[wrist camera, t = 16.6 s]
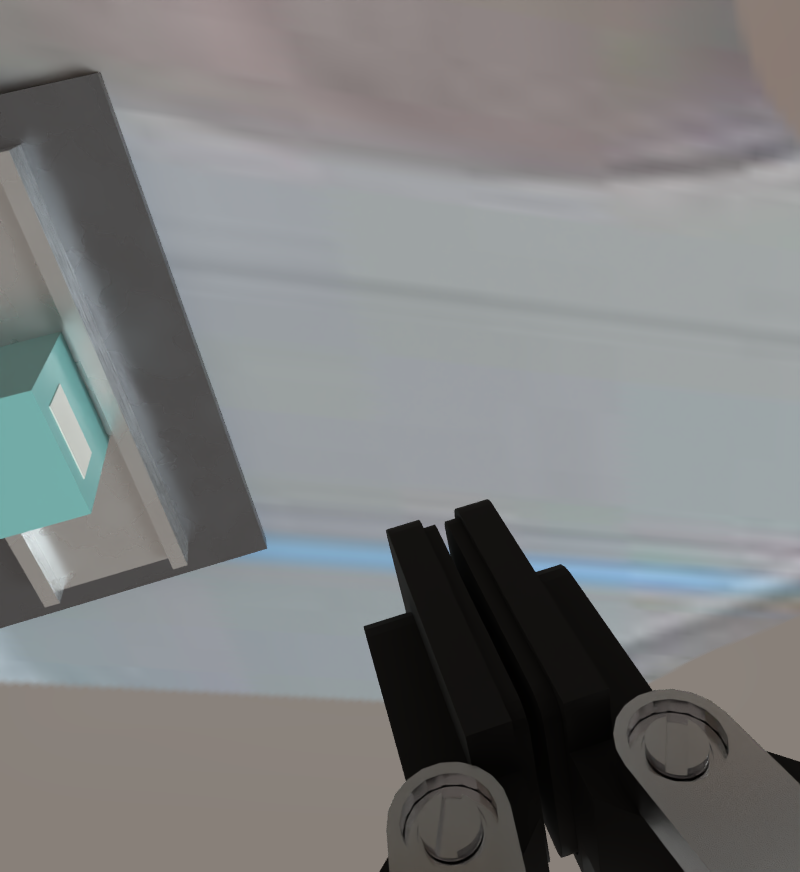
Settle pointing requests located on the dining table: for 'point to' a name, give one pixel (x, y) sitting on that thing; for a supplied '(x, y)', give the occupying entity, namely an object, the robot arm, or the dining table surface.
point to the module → (46, 437)
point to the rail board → (109, 361)
